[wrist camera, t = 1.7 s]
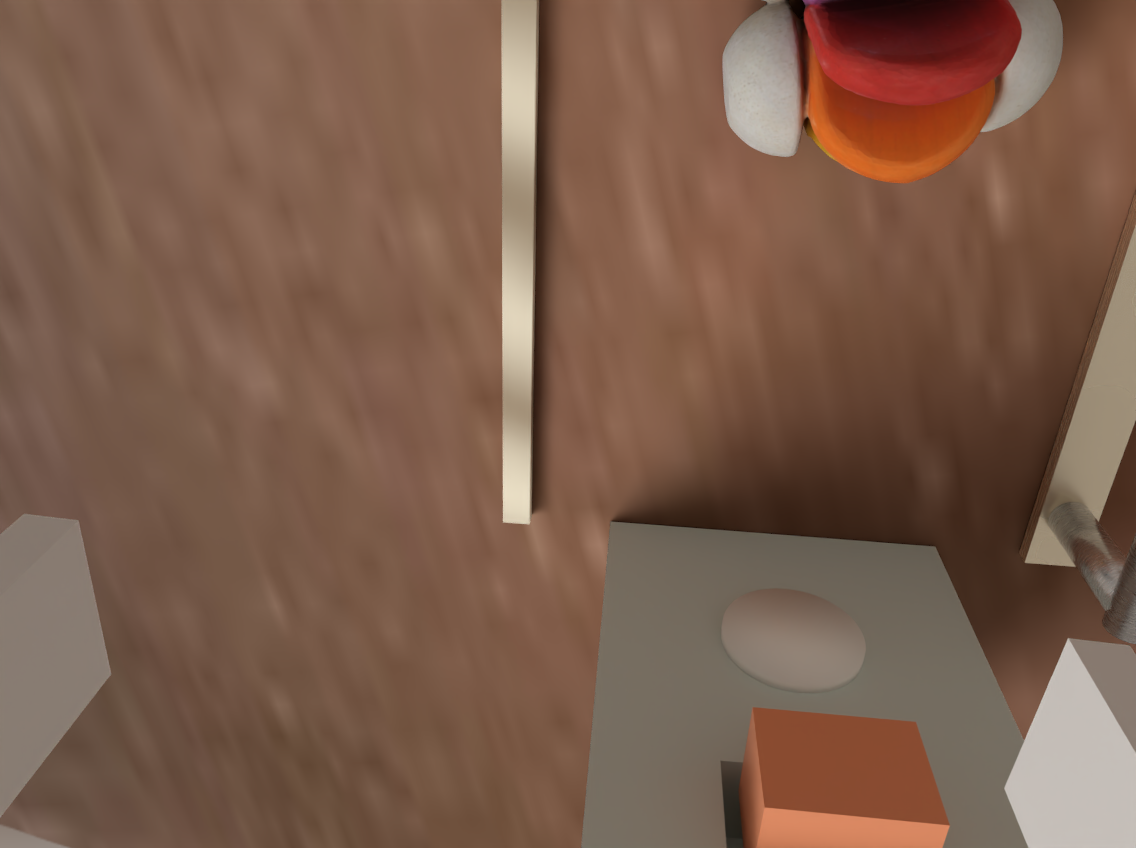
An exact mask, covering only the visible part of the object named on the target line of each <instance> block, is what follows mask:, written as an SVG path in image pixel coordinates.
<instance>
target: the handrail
mask: <svg viewBox="0 0 1136 848" xmlns="http://www.w3.org/2000/svg"><path fill="white" fill-rule="evenodd" d="M1135 421H1136V192H1135V195H1134V198H1133V201H1132V204H1131V207H1130V210H1129V213H1128V216H1127V220H1126V223H1125V226H1124V229H1123V232H1122V235H1121V238H1120V241H1119V244H1118V247H1117V251H1116V254H1115V257H1114V260H1113V263H1112V266H1111V269H1110V272H1109V275H1108V278H1107V282H1106V285H1105V288H1104V291H1103V294H1102V297H1101V300H1100V303H1099V306H1098V309H1097V313H1096V316H1095V319H1094V322H1093V325H1092V328H1091V331H1090V334H1089V337H1088V340H1087V344H1086V347H1085V350H1084V353H1083V356H1082V359H1081V362H1080V365H1079V368H1078V371H1077V374H1076V378H1075V381H1074V384H1073V387H1072V390H1071V393H1070V396H1069V399H1068V402H1067V405H1066V409H1065V412H1064V415H1063V418H1062V421H1061V424H1060V427H1059V430H1058V433H1057V436H1056V440H1055V443H1054V446H1053V449H1052V452H1051V455H1050V458H1049V461H1048V464H1047V467H1046V471H1045V474H1044V477H1043V480H1042V483H1041V486H1040V489H1039V492H1038V495H1037V498H1036V502H1035V505H1034V508H1033V511H1032V514H1031V517H1030V520H1029V523H1028V526H1027V529H1026V533H1025V536H1024V539H1023V542H1022V545H1021V548H1020V551H1019V554H1020V556H1021V557H1022V559H1023V561H1024V563H1033V564H1046V565H1059V566H1072V567H1076V568H1077V569H1078V571H1079V572H1080V574H1081V575H1082V577H1083V578H1084V580H1085V581H1086V583H1087V584H1088V586H1089V587H1090V589H1091V590H1092V592H1093V593H1094V595H1095V596H1096V598H1097V599H1098V601H1099V602H1100V604H1101V605H1102V607H1103V608H1104V610H1105V614H1104V616H1103V619H1102V624H1103V626H1104V628H1105V629H1106V630H1107V631H1108V632H1109V633H1110V634H1112V635H1113V636H1115V637H1116V638H1118V639H1120V640H1123V641H1125V642H1128V643H1132V644H1136V535H1135V537H1134V540H1133V542H1132V545H1131V548H1130V550H1129V553H1128V555H1127V558H1126V557H1125V556H1124V554H1123V553H1122V552H1121V550H1120V549H1119V548H1118V546H1117V545H1116V544H1115V542H1114V541H1113V540H1112V539H1111V537H1110V536H1109V535H1108V533H1107V532H1106V531H1105V529H1104V528H1103V527H1102V525H1101V524H1100V523H1099V519H1100V516H1101V514H1102V511H1103V508H1104V506H1105V503H1106V500H1107V497H1108V495H1109V492H1110V489H1111V486H1112V484H1113V481H1114V478H1115V475H1116V473H1117V470H1118V467H1119V465H1120V462H1121V459H1122V456H1123V454H1124V451H1125V448H1126V445H1127V443H1128V440H1129V437H1130V434H1131V432H1132V429H1133V426H1134V424H1135Z"/></svg>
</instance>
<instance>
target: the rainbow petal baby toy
mask: <svg viewBox="0 0 1136 848" xmlns="http://www.w3.org/2000/svg"><path fill="white" fill-rule="evenodd" d="M763 1H766V2H767V4H766V5H765V6H763V7H762V8H761V9H759V10H758V11H757V12H755V13H753V14H752V15H751V16H749V17H748V18H747V19H746V20H745V21H744V22H743V23H742V24H741V25H740V26H739V27H738V28H737V29H736V31H735V32H734V33H733V35H732V36H731V38H730V40H729V41H728V43H727V45H726V47H725V50H724V53H723V85H724V100H725V108H726V116H727V120H728V123H729V125H730V127H731V128H732V130H733V131H734V132H735V133H736V134H737V136H738V137H739V138H741V139H742V140H743V141H744V142H745V143H747V144H748V145H749V146H751V147H752V148H754V149H756V150H758V151H761V152H763V153H766V154H770V155H774V156H783V157H788V156H792V155H794V154H795V153H796V152H797V149H798V146H799V143H800V137H801V133H802V129H803V125H804V128H805V130H806V133H807V135H808V136H809V137H811V138H812V139H813V140H814V142H815V143H816V144H817V145H818V146H819V147H820V148H821V149H822V150H823V151H824V152H825V153H826V154H827V155H828V156H829V157H831V158H832V159H834V160H835V161H837V162H839V163H840V164H842V165H843V166H845V167H846V168H848V169H850V170H852V171H854V172H856V173H858V174H861V175H863V176H865V177H868V178H871V179H875V180H880V181H885V182H893V183H909V182H913V181H916V180H919V179H922V178H924V177H927V176H929V175H932V174H934V173H936V172H938V171H939V170H941V169H943V168H944V167H946V166H947V165H949V164H950V163H951V162H953V161H954V160H955V159H957V158H958V157H959V156H960V155H961V154H962V153H963V152H964V151H966V150H967V149H968V147H969V146H970V145H971V144H972V143H973V142H974V140H975V139H976V137H977V136H978V134H979V133H980V132H986V131H991V130H994V129H997V128H999V127H1002V126H1004V125H1006V124H1008V123H1010V122H1012V121H1014V120H1016V119H1017V118H1019V117H1020V116H1022V115H1023V114H1024V113H1026V112H1027V111H1028V110H1029V109H1030V108H1031V107H1032V106H1034V105H1035V104H1036V103H1037V102H1038V100H1039V99H1040V98H1041V97H1042V96H1043V94H1044V93H1045V92H1046V90H1047V89H1048V87H1049V86H1050V84H1051V82H1052V81H1053V79H1054V77H1055V75H1056V72H1057V70H1058V66H1059V63H1060V60H1061V54H1062V48H1063V26H1062V21H1061V16H1060V13H1059V11H1058V9H1057V6H1056V4H1055V2H1054V1H1053V0H803V1H804V3H805V5H806V8H805V11H804V16H802V17H801V18H799V17H798V16H797V15H796V14H795V13H794V12H793V11H792V8H791V6H790V4H789V0H763Z"/></svg>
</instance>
